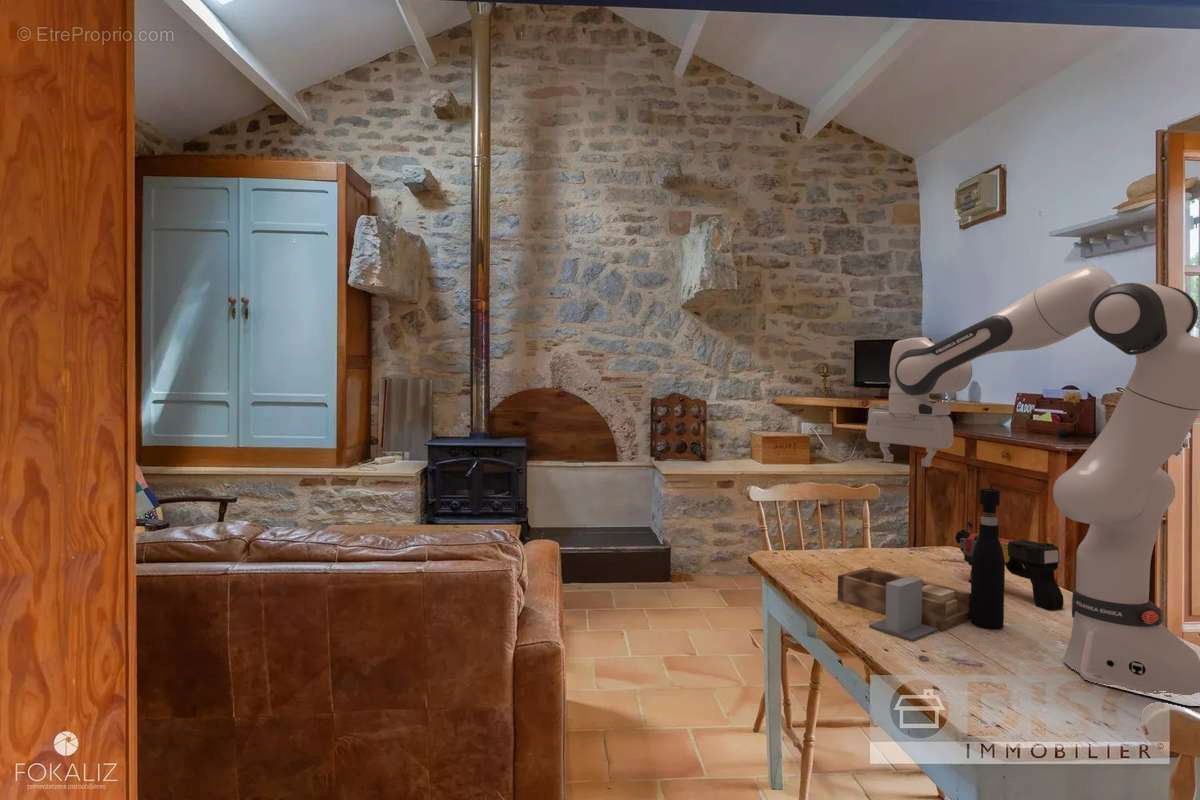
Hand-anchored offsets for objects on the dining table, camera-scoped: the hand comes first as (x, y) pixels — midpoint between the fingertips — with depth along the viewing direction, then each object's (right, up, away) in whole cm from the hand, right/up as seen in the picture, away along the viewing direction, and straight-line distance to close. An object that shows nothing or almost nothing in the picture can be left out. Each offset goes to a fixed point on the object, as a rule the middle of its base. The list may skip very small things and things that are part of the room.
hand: (906, 463), depth 166 cm
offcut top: (+3, -30, -8) cm, 31 cm away
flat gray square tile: (-7, -35, -15) cm, 38 cm away
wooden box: (-2, -34, -2) cm, 34 cm away
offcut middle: (+3, -32, -8) cm, 33 cm away
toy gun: (+30, -34, +11) cm, 47 cm away
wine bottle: (+13, -35, -11) cm, 39 cm away
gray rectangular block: (-7, -34, -15) cm, 38 cm away
